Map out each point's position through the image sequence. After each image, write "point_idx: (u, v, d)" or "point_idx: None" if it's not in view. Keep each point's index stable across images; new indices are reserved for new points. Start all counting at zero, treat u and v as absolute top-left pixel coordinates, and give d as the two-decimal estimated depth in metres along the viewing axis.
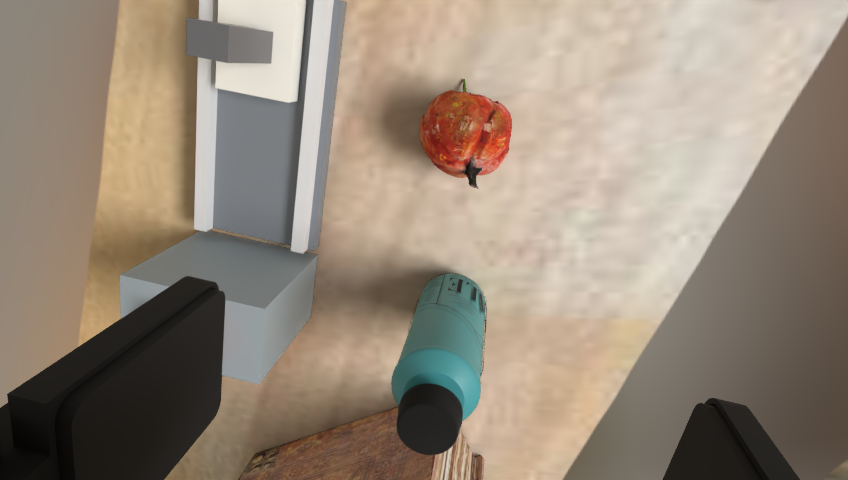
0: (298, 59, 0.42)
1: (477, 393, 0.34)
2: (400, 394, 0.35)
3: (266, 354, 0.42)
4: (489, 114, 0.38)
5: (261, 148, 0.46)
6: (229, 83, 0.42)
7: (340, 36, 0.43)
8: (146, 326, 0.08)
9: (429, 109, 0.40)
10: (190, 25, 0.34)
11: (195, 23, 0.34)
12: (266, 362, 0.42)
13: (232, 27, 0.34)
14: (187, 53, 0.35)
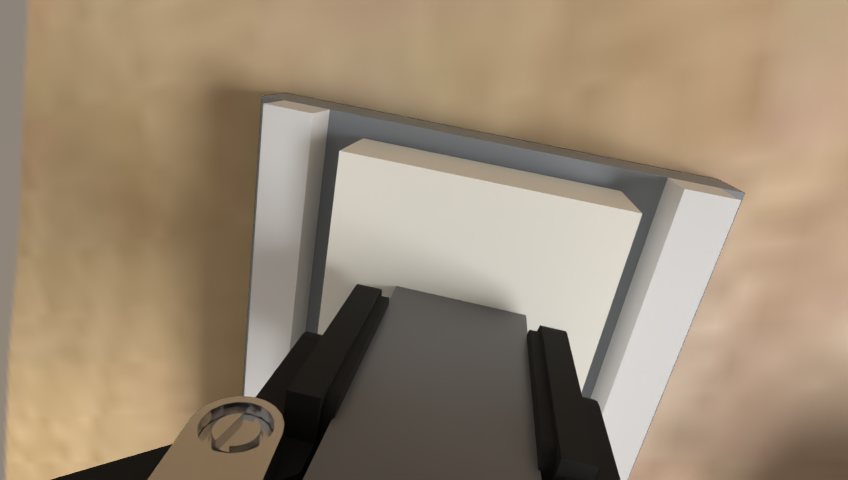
0: None
1: None
2: None
3: None
4: None
5: None
6: None
7: None
8: (353, 330, 0.09)
9: None
10: None
11: None
12: None
13: None
14: None
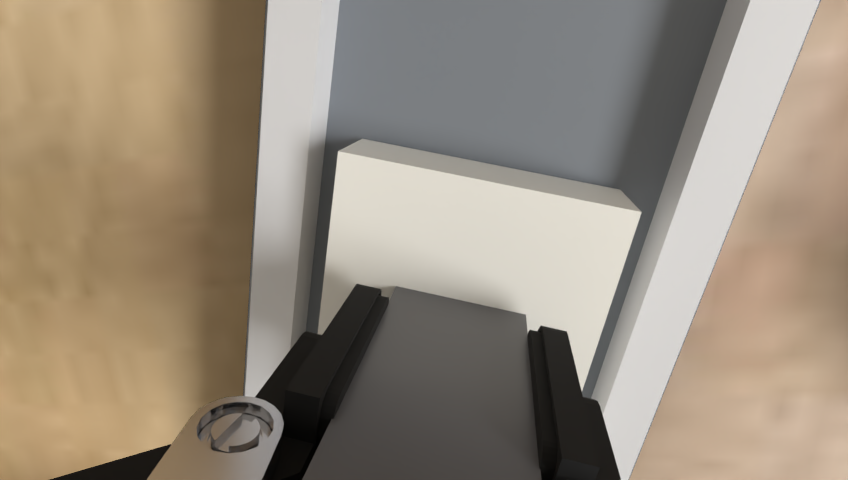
0: None
1: None
2: None
3: None
4: None
5: None
6: None
7: None
8: (353, 330, 0.09)
9: None
10: None
11: None
12: None
13: None
14: None
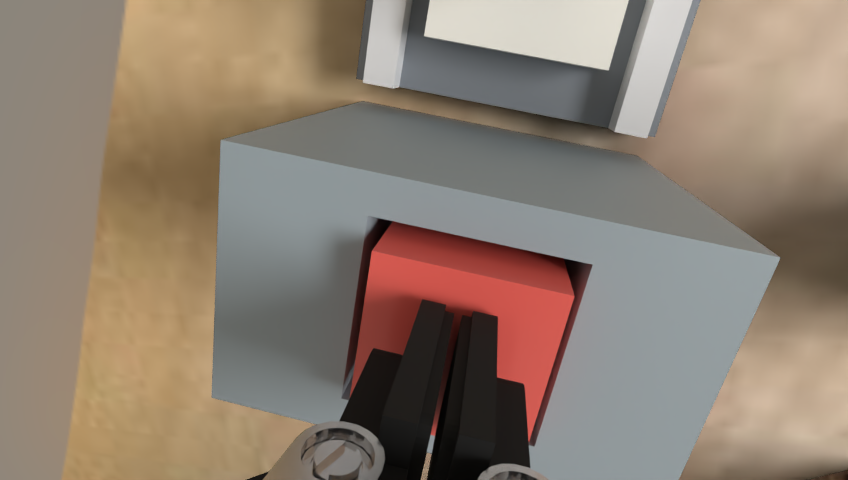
0: None
1: None
2: None
3: None
4: None
5: None
6: (461, 24, 0.17)
7: None
8: (430, 349, 0.09)
9: None
10: None
11: None
12: None
13: None
14: None
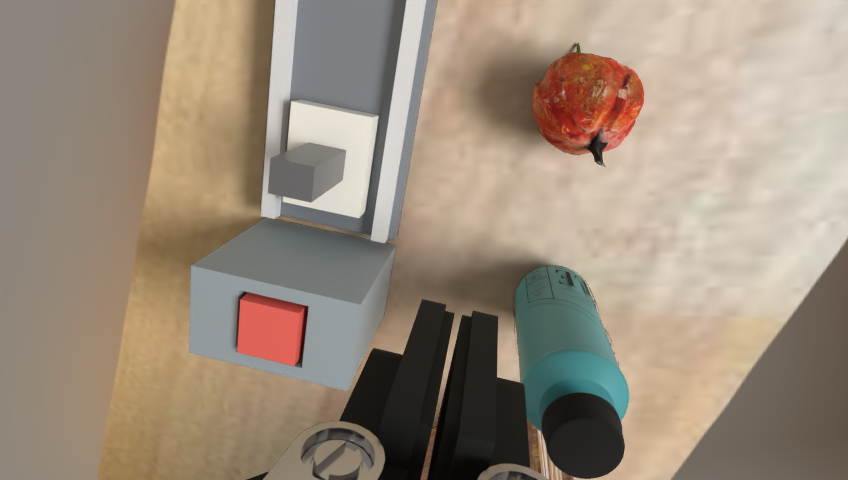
0: (369, 173, 0.41)
1: (626, 403, 0.29)
2: (535, 404, 0.29)
3: (355, 357, 0.36)
4: (623, 79, 0.33)
5: None
6: None
7: None
8: (431, 349, 0.09)
9: (549, 74, 0.34)
10: (273, 165, 0.33)
11: (279, 163, 0.33)
12: (354, 366, 0.37)
13: (317, 167, 0.33)
14: (269, 191, 0.34)
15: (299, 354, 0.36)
